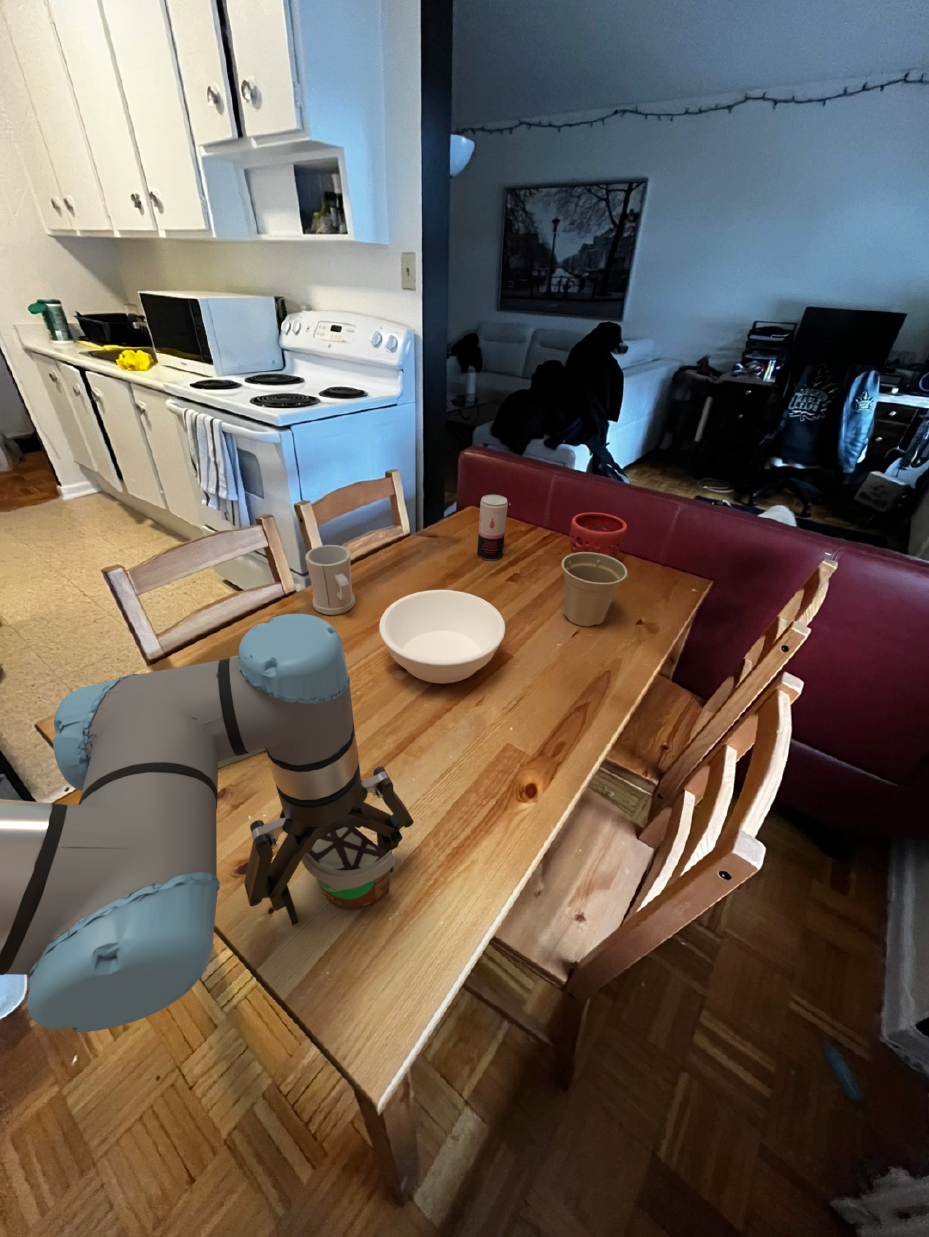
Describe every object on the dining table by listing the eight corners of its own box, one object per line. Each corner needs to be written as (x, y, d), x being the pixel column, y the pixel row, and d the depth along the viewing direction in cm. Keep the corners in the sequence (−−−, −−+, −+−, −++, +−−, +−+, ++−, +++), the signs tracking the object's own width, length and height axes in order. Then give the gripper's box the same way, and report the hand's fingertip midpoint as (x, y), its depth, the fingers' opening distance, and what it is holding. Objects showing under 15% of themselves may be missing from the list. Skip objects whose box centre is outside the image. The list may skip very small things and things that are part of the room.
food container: (286, 879, 60) (270, 832, 54) (325, 839, 64) (314, 792, 58) (361, 946, 54) (353, 902, 48) (398, 898, 58) (395, 852, 52)
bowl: (409, 717, 81) (408, 679, 76) (365, 640, 97) (362, 604, 92) (524, 678, 90) (529, 642, 85) (466, 613, 106) (468, 579, 101)
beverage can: (505, 552, 130) (511, 497, 121) (497, 563, 125) (503, 506, 116) (482, 547, 131) (486, 492, 123) (473, 557, 126) (476, 501, 118)
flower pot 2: (549, 597, 113) (558, 549, 106) (607, 600, 113) (619, 553, 106) (556, 631, 102) (566, 581, 95) (620, 635, 102) (634, 585, 95)
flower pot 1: (623, 562, 128) (634, 519, 121) (606, 584, 119) (617, 538, 112) (575, 548, 133) (584, 505, 126) (556, 567, 124) (563, 523, 117)
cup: (369, 599, 109) (365, 550, 102) (349, 622, 102) (343, 571, 95) (326, 589, 111) (320, 541, 104) (304, 611, 104) (295, 561, 97)
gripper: (412, 698, 54) (415, 817, 66) (171, 790, 43) (230, 910, 56) (447, 746, 48) (442, 865, 61) (183, 864, 38) (244, 977, 51)
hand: (341, 886), depth 59 cm, fingers open, 11 cm apart
